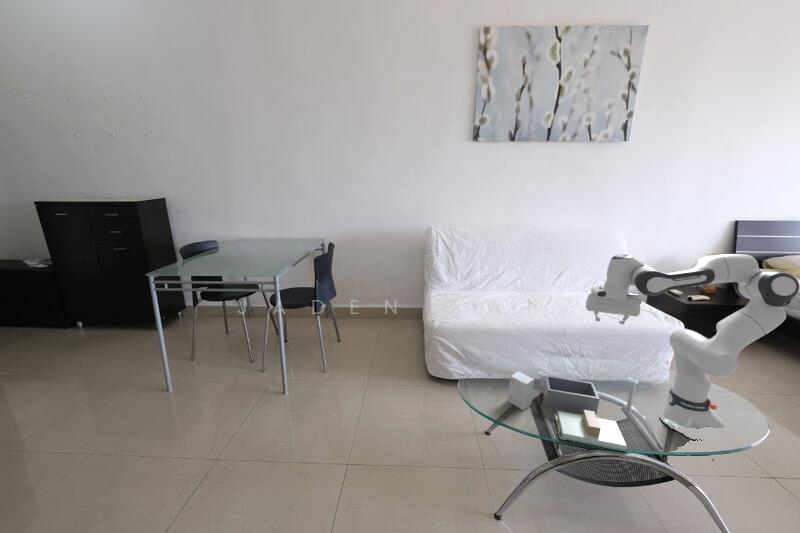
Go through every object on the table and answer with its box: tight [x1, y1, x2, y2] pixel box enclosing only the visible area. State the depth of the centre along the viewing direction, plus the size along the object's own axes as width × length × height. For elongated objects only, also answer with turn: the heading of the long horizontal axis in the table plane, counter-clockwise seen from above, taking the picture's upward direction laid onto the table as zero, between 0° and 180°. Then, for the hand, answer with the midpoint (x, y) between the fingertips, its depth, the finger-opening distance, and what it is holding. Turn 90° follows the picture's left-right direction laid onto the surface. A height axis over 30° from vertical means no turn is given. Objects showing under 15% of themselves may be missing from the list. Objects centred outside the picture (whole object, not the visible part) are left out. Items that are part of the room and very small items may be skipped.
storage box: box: [542, 374, 600, 415], centre depth 157 cm, size 20×12×9 cm, turn 74°
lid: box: [557, 410, 628, 450], centre depth 140 cm, size 22×14×6 cm, turn 74°
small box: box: [507, 371, 535, 411], centre depth 156 cm, size 8×6×13 cm
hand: (609, 322), depth 154 cm, fingers open, 8 cm apart
